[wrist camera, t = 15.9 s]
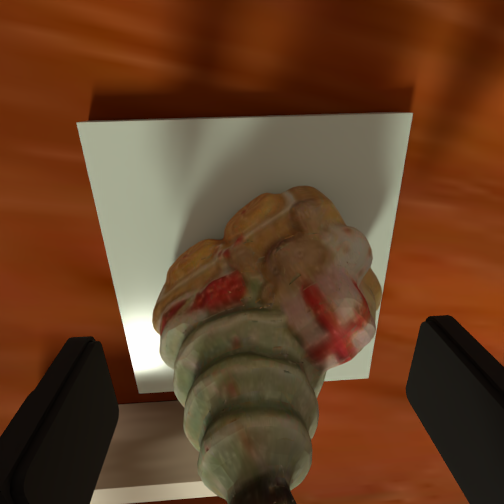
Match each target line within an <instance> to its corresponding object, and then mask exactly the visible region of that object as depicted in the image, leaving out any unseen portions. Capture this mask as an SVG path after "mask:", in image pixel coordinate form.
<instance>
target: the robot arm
mask: <svg viewBox="0 0 504 504" xmlns="http://www.w3.org/2000/svg"><path fill="white" fill-rule="evenodd" d="M406 395H407V398H408V400H409V402H410V404H411V406H412V407H413V409H414V411H415V412H416V414H417V416H418V417H419V419H420V421H421V422H422V424H423V426H424V427H425V429H426V431H427V433H428V434H429V436H430V438H431V439H432V441H433V443H434V444H435V446H436V448H437V449H438V451H439V453H440V454H441V456H442V458H443V459H444V461H445V463H446V465H447V466H448V468H449V470H450V471H451V473H452V475H453V476H454V478H455V480H456V481H457V483H458V485H459V486H460V488H461V490H462V491H463V493H464V495H465V497H466V498H467V500H468V502H469V503H470V504H504V367H503V366H502V365H501V364H500V363H499V362H498V361H497V360H496V359H495V358H494V357H493V356H492V355H491V354H490V353H489V352H488V351H487V350H486V349H485V348H484V347H483V346H482V345H481V344H480V343H479V342H478V341H477V340H476V339H475V338H474V337H473V336H472V335H471V334H470V333H469V332H467V331H466V330H465V329H464V328H463V327H462V326H461V325H460V324H459V323H458V322H457V321H456V320H455V319H454V318H453V317H452V316H449V315H444V316H430V317H428V318H427V319H426V321H425V322H422V324H421V326H420V330H419V334H418V339H417V343H416V347H415V351H414V356H413V360H412V364H411V368H410V372H409V377H408V381H407V385H406ZM118 418H119V406H118V403H117V399H116V395H115V392H114V388H113V384H112V381H111V377H110V373H109V370H108V366H107V363H106V359H105V355H104V352H103V348H102V345H101V343H100V342H99V341H95V339H94V338H93V337H91V336H89V337H72V338H69V339H68V340H67V342H66V343H65V345H64V346H63V348H62V349H61V351H60V352H59V354H58V355H57V357H56V358H55V360H54V361H53V363H52V364H51V366H50V367H49V369H48V370H47V372H46V373H45V375H44V376H43V378H42V379H41V381H40V382H39V384H38V385H37V387H36V388H35V390H34V391H32V392H31V393H30V394H29V396H28V397H27V398H26V400H25V401H24V403H23V404H22V406H21V407H20V408H19V410H18V411H17V413H16V414H15V416H14V417H13V419H12V420H11V422H10V423H9V425H8V426H7V428H6V429H5V431H4V432H3V434H2V435H1V437H0V504H90V502H91V499H92V496H93V493H94V490H95V487H96V484H97V481H98V478H99V475H100V472H101V469H102V466H103V464H104V461H105V458H106V455H107V452H108V449H109V446H110V443H111V440H112V437H113V434H114V431H115V428H116V425H117V422H118Z"/></svg>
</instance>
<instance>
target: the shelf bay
mask: <svg viewBox="0 0 504 504" xmlns="http://www.w3.org/2000/svg"><path fill="white" fill-rule="evenodd" d="M118 406H119V418H118V422H117V425H116V428H115V431H114V434H113V437H112V440H111V443H110V446H109V449H108V452H107V455H106V458H105V461H104V464H103V466H102V469H101V472H100V475H99V478H98V481H97V484H96V487H95V490H94V493H93V496H92V499H91V502H90V504H128V503H140V502H152V501H164V500H176V499H188V498H200V497H212V496H217V495H216V494H214V493H213V492H212V491H210V490H209V489H208V488H207V487H206V486H205V485H204V483H203V482H202V480H201V478H200V477H199V475H198V466H197V463H198V457H199V451H198V450H196V449H195V448H194V447H193V445H192V444H191V442H190V441H189V440H188V438H187V436H186V434H185V432H184V427H183V421H184V409H185V408H184V407H183V405H182V404H181V403H180V402H179V400H177V401H163V402H148V403H134V404H119V405H118Z"/></svg>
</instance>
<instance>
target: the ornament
mask: <svg viewBox="0 0 504 504" xmlns="http://www.w3.org/2000/svg"><path fill="white" fill-rule="evenodd" d="M372 260H373V255H372V249H371V246H370V244H369V242H368V240H367V238H366V237H365V236H364V234H363V233H361V232H360V231H359V230H358V229H356V228H354V227H351V226H347V225H346V224H345V222H344V220H343V218H342V216H341V215H340V213H339V211H338V210H337V208H336V207H335V205H334V204H333V202H332V201H331V200H330V199H329V198H328V197H326V196H325V195H324V194H323V193H322V192H320V191H319V190H317V189H316V188H314V187H311V186H296V187H292V188H290V189H289V190H287V191H285V192H283V193H281V194H272V193H263V194H261V195H259V196H258V197H256V198H255V199H253V200H252V201H250V202H249V203H248V204H247V205H245V206H244V207H243V208H242V209H240V210H239V211H238V212H237V213H236V214H235V215H234V216H233V217H232V218H231V219H230V220H229V222H228V223H227V225H226V227H225V229H224V237H223V239H221V240H218V239H205V240H202V241H200V242H198V243H196V244H195V245H193V246H192V247H190V248H189V249H188V250H186V251H185V252H184V253H183V254H181V255H180V256H179V257H178V258H177V259H176V261H175V262H174V263H173V265H172V266H171V267H170V268H169V270H168V272H167V277H166V282H165V284H164V285H163V288H162V290H161V292H160V294H159V297H158V299H157V302H156V304H155V307H154V310H153V316H152V323H153V328H154V330H155V331H156V332H157V333H158V334H159V335H160V348H159V353H160V356H161V358H162V360H163V361H164V362H165V364H166V365H167V366H169V367H170V368H172V369H173V370H174V377H173V386H174V392H175V395H176V397H177V399H178V400H179V402H180V403H181V404H182V405H183V407H184V408H185V409H184V421H183V427H184V432H185V434H186V436H187V438H188V440H189V441H190V442H191V444H192V445H193V447H194V448H195V449H196V450H198V451H199V457H198V463H197V466H198V475H199V477H200V478H201V480H202V482H203V483H204V485H205V486H206V487H207V488H208V489H209V490H210V491H212V492H213V493H214V494H216V495H217V496H219V497H221V498H223V499H225V500H227V503H228V504H296V502H295V500H294V498H293V496H292V494H291V492H290V490H292V489H293V488H295V487H296V486H297V485H299V484H300V483H301V482H302V481H303V480H304V478H305V476H306V475H307V473H308V472H309V469H310V466H311V462H312V444H311V439H312V438H313V436H314V433H315V431H316V428H317V424H318V418H319V410H318V402H317V397H318V394H319V392H320V390H321V387H322V385H323V382H324V379H325V376H326V372H327V370H329V369H330V368H333V367H336V366H338V365H341V364H344V363H346V362H348V361H350V360H352V359H353V358H354V357H355V356H356V355H357V354H358V353H359V352H360V351H361V350H362V349H363V347H364V346H366V345H367V344H368V343H370V341H371V340H372V339H373V337H374V335H375V332H376V325H375V320H376V311H377V310H378V308H379V306H380V302H381V298H382V288H381V285H380V283H379V281H378V278H377V276H376V275H375V273H374V272H373V270H372V269H371V264H372Z"/></svg>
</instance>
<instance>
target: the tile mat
mask: <svg viewBox="0 0 504 504" xmlns="http://www.w3.org/2000/svg"><path fill="white" fill-rule="evenodd" d="M412 115H413V113H407V112H379V113H343V114H308V115H273V116H237V117H202V118H167V119H132V120H96V121H83V122H77V127H78V131H79V136H80V140H81V144H82V149H83V153H84V157H85V162H86V166H87V170H88V175H89V179H90V183H91V188H92V192H93V196H94V201H95V205H96V209H97V214H98V218H99V222H100V227H101V231H102V235H103V240H104V244H105V248H106V253H107V257H108V261H109V266H110V270H111V274H112V279H113V283H114V287H115V292H116V296H117V300H118V305H119V309H120V313H121V318H122V322H123V326H124V331H125V335H126V339H127V344H128V348H129V352H130V357H131V361H132V365H133V370H134V374H135V378H136V383H137V387H138V391H139V394H141V393H156V392H171V391H174V386H173V377H174V370H173V369H172V368H170V367H169V366H167V365H166V364H165V362H164V361H163V360H162V358H161V356H160V353H159V348H160V335H159V334H158V333H157V332H156V331H155V330H154V328H153V323H152V316H153V310H154V307H155V304H156V302H157V299H158V297H159V294H160V292H161V290H162V288H163V285H164V284H165V282H166V277H167V272H168V270H169V268H170V267H171V266H172V265H173V263H174V262H175V261H176V259H177V258H178V257H179V256H180V255H181V254H183V253H184V252H185V251H186V250H188V249H189V248H190V247H192V246H193V245H195V244H196V243H198V242H200V241H202V240H205V239H218V240H221V239H223V237H224V229H225V227H226V225H227V223H228V222H229V220H230V219H231V218H232V217H233V216H234V215H235V214H236V213H237V212H238V211H239V210H240V209H242V208H243V207H244V206H245V205H247V204H248V203H249V202H250V201H252V200H253V199H255V198H256V197H258V196H259V195H261V194H263V193H272V194H281V193H283V192H285V191H287V190H289V189H290V188H292V187H296V186H311V187H314V188H316V189H317V190H319V191H320V192H322V193H323V194H324V195H325V196H326V197H328V198H329V199H330V200H331V201H332V202H333V204H334V205H335V207H336V208H337V210H338V211H339V213H340V215H341V216H342V218H343V220H344V222H345V224H346V225H347V226H351V227H354V228H356V229H358V230H359V231H360V232H361V233H363V234H364V236H365V237H366V238H367V240H368V242H369V244H370V246H371V249H372V255H373V260H372V264H371V269H372V270H373V272H374V273H375V275H376V276H377V278H378V281H379V283H380V285H381V288H382V293H383V287H384V282H385V276H386V270H387V264H388V258H389V252H390V246H391V240H392V234H393V228H394V222H395V216H396V210H397V204H398V198H399V192H400V186H401V180H402V175H403V169H404V163H405V157H406V151H407V145H408V139H409V133H410V127H411V121H412ZM381 299H382V298H381ZM380 305H381V302H380ZM379 311H380V306H379V308H378V310H377V311H376V320H375V325H376V329H377V323H378V317H379ZM375 335H376V332H375ZM375 335H374V337H373V339H372V340H371V341H370V343H368V344H367V345H366V346H364V347H363V349H362V350H361V351H360V352H359V353H358V354H357V355H356V356H355V357H354V358H353V359H352V360H350V361H348V362H346V363H344V364H341V365H338V366H336V367H333V368H330V369H329V370H327V372H326V376H325V379H324V381H333V380H348V379H363V378H368V377H369V371H370V365H371V359H372V353H373V347H374V341H375Z"/></svg>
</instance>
